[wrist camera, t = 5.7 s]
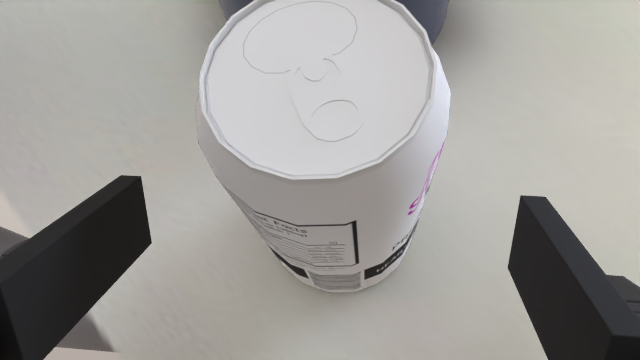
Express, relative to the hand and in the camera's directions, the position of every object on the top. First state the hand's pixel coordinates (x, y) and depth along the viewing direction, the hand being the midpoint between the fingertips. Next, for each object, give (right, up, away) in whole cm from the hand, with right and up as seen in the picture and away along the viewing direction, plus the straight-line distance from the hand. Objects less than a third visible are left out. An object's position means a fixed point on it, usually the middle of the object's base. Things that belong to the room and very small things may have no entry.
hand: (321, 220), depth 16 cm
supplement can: (+1, -1, +11) cm, 12 cm away
